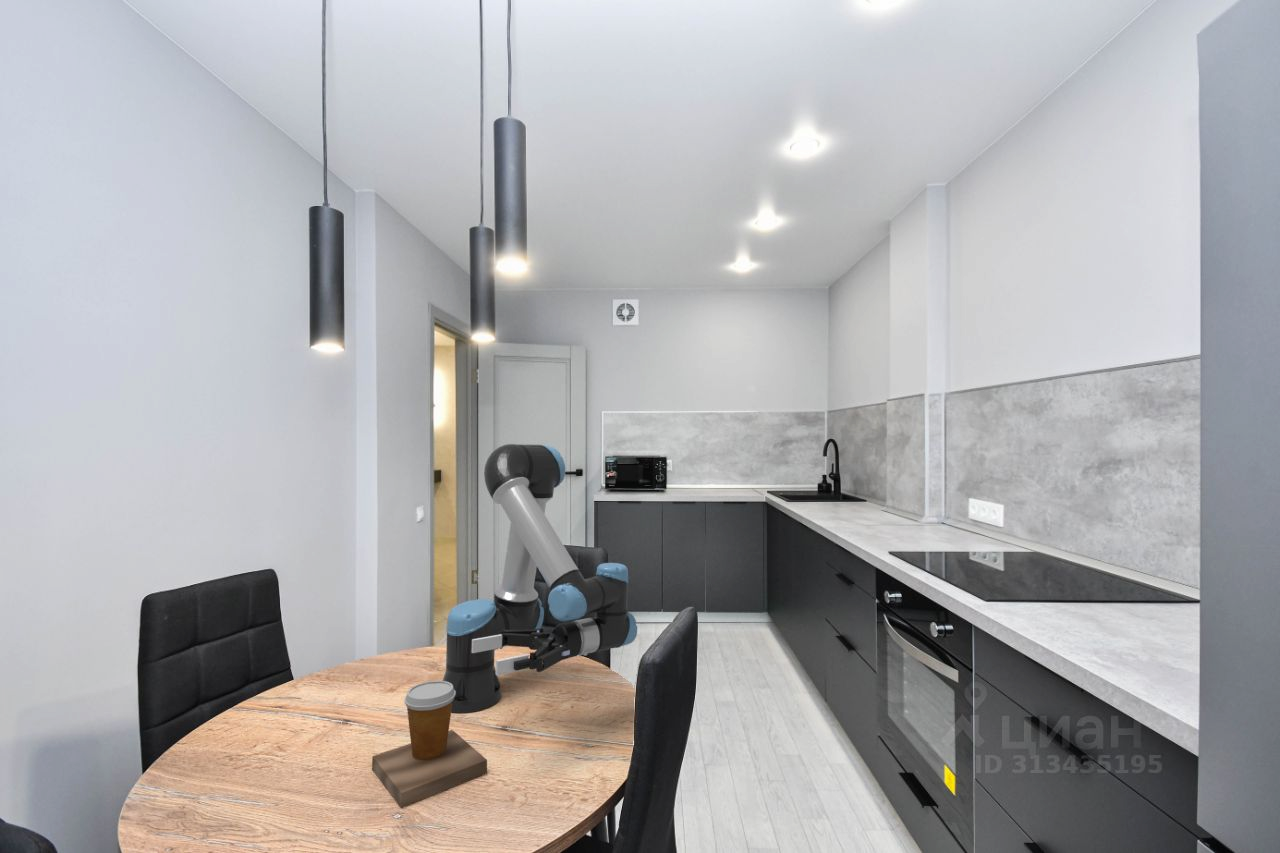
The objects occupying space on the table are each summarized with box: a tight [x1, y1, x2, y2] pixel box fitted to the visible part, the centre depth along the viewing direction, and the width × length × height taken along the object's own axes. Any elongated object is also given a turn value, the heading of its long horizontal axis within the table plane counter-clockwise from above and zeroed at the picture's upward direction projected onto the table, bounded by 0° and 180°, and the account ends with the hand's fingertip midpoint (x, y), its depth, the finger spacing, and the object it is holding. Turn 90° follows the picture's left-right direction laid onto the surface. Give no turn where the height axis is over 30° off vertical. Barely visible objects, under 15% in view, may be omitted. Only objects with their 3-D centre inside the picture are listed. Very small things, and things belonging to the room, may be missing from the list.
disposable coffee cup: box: [403, 680, 456, 760], centre depth 110 cm, size 10×10×12 cm
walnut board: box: [371, 729, 488, 808], centre depth 107 cm, size 16×16×2 cm
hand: (483, 656), depth 114 cm, fingers open, 13 cm apart
